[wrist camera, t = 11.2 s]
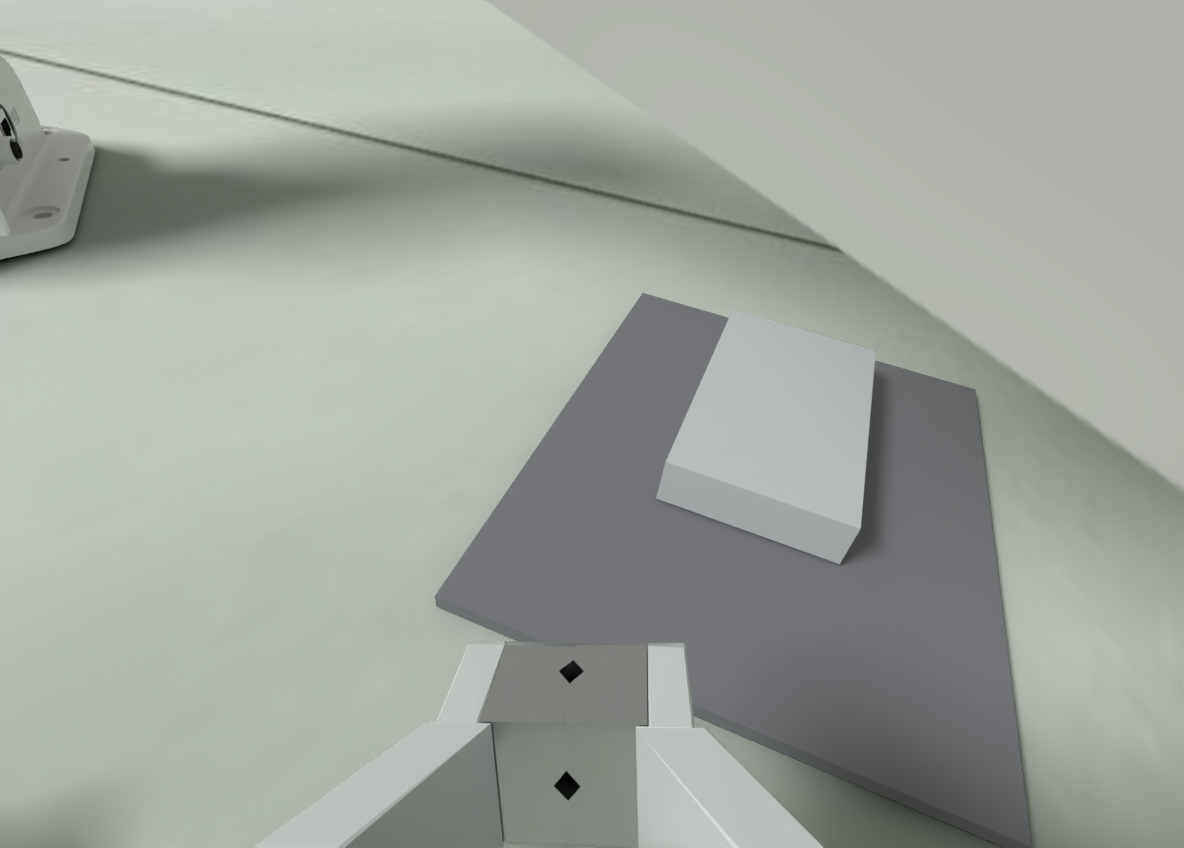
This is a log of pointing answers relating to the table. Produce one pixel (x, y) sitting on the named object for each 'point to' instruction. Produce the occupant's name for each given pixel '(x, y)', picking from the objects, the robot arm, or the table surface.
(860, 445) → the tile
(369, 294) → the table surface
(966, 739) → the mat
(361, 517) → the table surface
